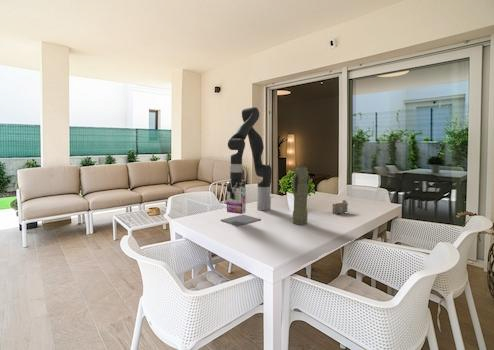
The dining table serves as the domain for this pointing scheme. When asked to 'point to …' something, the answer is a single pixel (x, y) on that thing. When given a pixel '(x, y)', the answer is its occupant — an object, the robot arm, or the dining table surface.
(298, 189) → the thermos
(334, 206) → the architectural model on board
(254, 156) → the robot arm
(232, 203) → the candy bar box
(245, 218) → the mat
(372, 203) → the dining table surface
